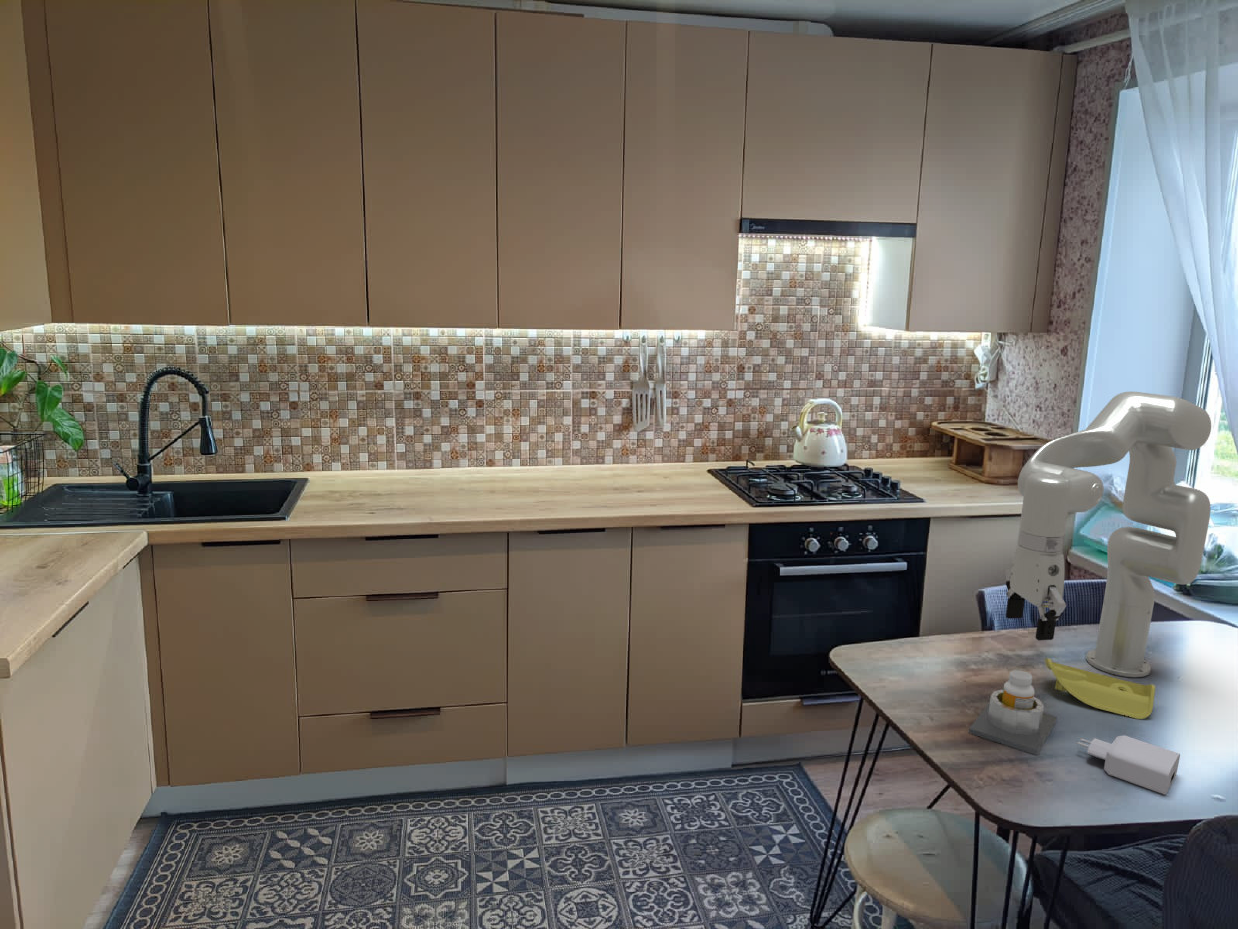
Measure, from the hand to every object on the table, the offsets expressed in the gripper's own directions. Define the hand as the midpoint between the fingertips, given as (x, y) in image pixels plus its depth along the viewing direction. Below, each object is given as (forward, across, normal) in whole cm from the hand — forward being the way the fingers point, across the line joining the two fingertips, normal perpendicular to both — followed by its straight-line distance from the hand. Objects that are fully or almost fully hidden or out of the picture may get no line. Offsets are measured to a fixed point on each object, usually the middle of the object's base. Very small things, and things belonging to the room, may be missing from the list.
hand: (1028, 628), depth 168 cm
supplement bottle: (+19, 0, 0) cm, 19 cm away
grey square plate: (+20, 0, +1) cm, 20 cm away
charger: (+21, -16, -11) cm, 28 cm away
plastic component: (+21, +10, -24) cm, 33 cm away
